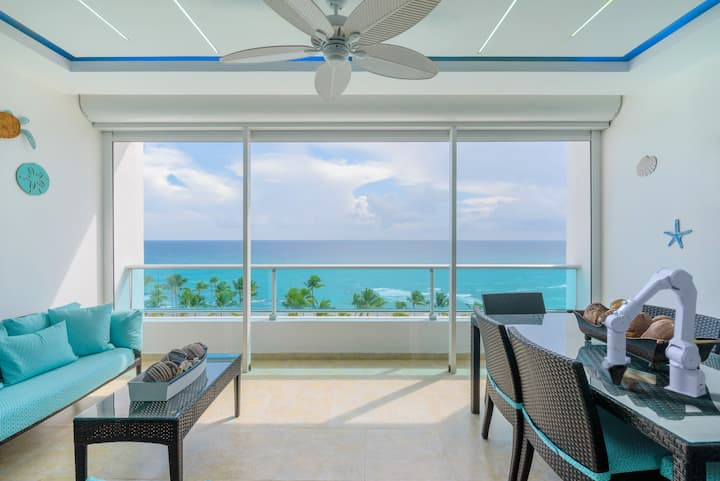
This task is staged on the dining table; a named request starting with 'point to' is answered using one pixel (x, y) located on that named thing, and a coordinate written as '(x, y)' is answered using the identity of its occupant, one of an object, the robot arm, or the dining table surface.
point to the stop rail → (640, 375)
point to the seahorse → (630, 384)
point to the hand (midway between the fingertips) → (616, 384)
